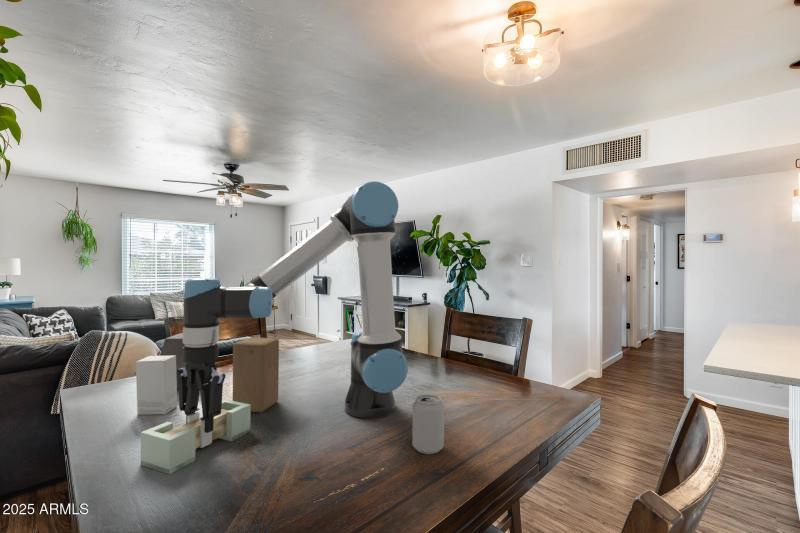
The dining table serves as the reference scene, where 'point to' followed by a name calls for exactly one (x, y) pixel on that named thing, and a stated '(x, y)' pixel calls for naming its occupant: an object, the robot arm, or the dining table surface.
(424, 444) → the can
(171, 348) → the planter
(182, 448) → the end caps
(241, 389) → the wooden block
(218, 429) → the slat
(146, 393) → the skincare box
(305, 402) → the dining table surface
